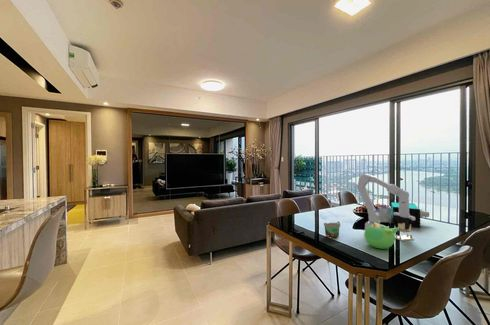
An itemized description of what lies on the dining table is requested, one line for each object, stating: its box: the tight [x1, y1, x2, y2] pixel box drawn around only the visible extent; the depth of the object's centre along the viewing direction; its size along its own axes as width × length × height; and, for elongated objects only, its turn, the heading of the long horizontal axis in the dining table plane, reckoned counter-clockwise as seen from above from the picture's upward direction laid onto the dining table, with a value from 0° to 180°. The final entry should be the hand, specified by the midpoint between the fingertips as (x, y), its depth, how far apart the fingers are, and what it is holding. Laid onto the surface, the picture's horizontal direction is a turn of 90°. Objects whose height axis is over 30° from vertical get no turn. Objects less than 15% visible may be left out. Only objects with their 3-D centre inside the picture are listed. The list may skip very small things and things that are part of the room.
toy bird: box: [364, 222, 399, 250], centre depth 132 cm, size 18×17×15 cm
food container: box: [323, 221, 341, 239], centre depth 150 cm, size 12×6×10 cm, turn 105°
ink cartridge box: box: [376, 204, 392, 223], centre depth 187 cm, size 10×6×14 cm, turn 78°
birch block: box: [397, 223, 412, 233], centre depth 146 cm, size 6×4×5 cm, turn 101°
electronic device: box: [390, 201, 430, 229], centre depth 181 cm, size 25×25×15 cm
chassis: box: [395, 233, 415, 242], centre depth 146 cm, size 10×6×2 cm, turn 101°
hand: (404, 228), depth 146 cm, fingers closed on birch block, 4 cm apart
